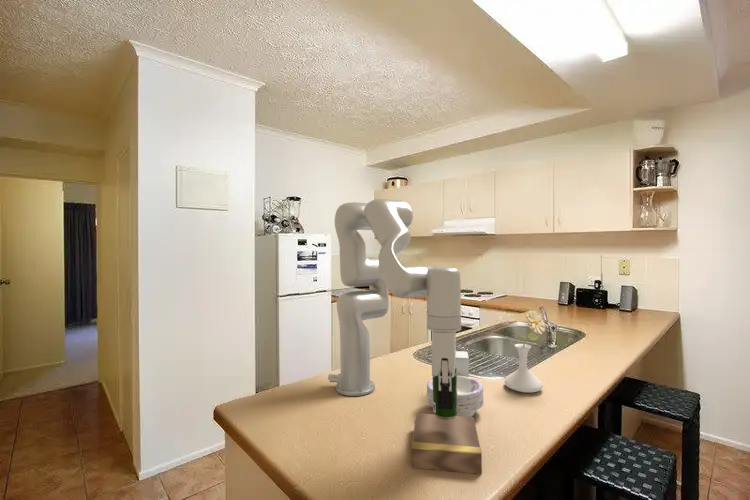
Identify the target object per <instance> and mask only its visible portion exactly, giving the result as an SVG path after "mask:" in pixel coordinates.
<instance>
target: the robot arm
mask: <svg viewBox="0 0 750 500" xmlns="http://www.w3.org/2000/svg"><path fill="white" fill-rule="evenodd" d="M334 214H335V215H334V228H335V233H336V236H337V237H336V238H337V240H338V243H339V244H338V246H339V269H340V270H339V272H340V280H341V282H342V284H343V285H344V286H346V287H348V288H349V287H350V288H353V287H355V288H357V287H369V289H365V290H363V289H362V290H361V289H360V290H353V291H352V290H351V291H345V292H344V293H342V294H340V295H339V296H338V298H337V300H336V311H337V312H336V313H337V317H338V324H339V343H340V344H339V349H340V353H339V354H340V358H339V361H340V372H339V373H338V374H335V373H329V374H328V378H327V380H328V381H329V382H330V383H336V386H335V390H336V392H337V393H338V394H340V395H342V396H348V397H359V396H360V397H361V396H365V395H368V394H370V393H372V392H374V390H375V389H376V385H375V383H374V381H372V380H371V360H370V359H371V352H370V351H371V350H370V349H371V348H370V345H371V344H370V343H371V342H370V333H369V332H370V331H369V330H368V328H367V327H366V325H365V324H364V321H365V320H372V319H373V320H374V319H379V318H383V317H384V316H386V315H387V313H388V311H389V307H390V296H389V294H390V293H391V294H392V295H393V296H394V297H396V298H399V299H412V298H419V297H421V298H423V297H426V329H427V330H429V331H431V376H432V378H433V377H435V376H438V374H439V376H438V378H439V390H438V408H439V409H450V410H452V409H453V390H452V386H451V378H453V377H454V375H455V359H456V351H457V350H456V349H457V347H456V345H457V342H456V341H457V338H456V337H457V333H456V332H460V331H461V330H462V301H461V299H462V296H461V294H462V293H461V291H462V290H461V286H462V285H461V272H460V271H459V269H458V268H455V267H443V266H442V267H441V266H440V267H439V266H436V265H432V264H429V265H405V266H402V264H401V263H400V262H399V261H400V260H398V258H397V257H396V255H397V254H398V253H400V252H402V251H403V250H404V249H406V247H407V246H408V245H409V244H410V242H411V239H412V235H411V232H410V230H409V229H408V228H409V226H410V225H411V224H412V222H413V220H414V219H413V218H414V213H413V210H412V207H411V206H410V204H408V203H407V202H406V201H405V200H404V201H403V200H400V199H389V198H386V199H385V198H377V199H372V200H370V201H369V202H367V203H366V202H346V203H343V204H341V205H339V206H338V207H337V209H336V211H335V213H334ZM361 230H362V231H372V233H373V234H374V237H375V238H376V240H377V242H378V243H379V245H380V246H381V247H380V250H379V253H378V257H376V256H369V257H368V256H367V252H366V247H367V246H366V242H365V240H364V238H363V237H362V235H361V234H360V232H359V231H361ZM441 359H442V365H441ZM451 372H452V373H451ZM440 373H442V376H440ZM448 373H449V376H448ZM451 376H452V377H451ZM441 379H442V381H441ZM448 379H449V382H448Z"/></svg>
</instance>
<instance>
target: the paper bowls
mask: <svg viewBox="0 0 750 500" xmlns="http://www.w3.org/2000/svg"><path fill="white" fill-rule="evenodd" d="M426 392H427V393H426V396H427V404H429V405H430V406H431V407H432V408H433V378H431V379H429V380H428V381H427V384H426ZM484 400H485V399H484V386H483V384H482V383H481V382H480V381H479V380H477V379H475V378H474V377H473V378H472V377H470V376H469V377H465V376H457V415H456V416H465V417H474V415H475V413H476V411H478V410H479V409H482V407H483V406H484V403H485V402H484Z"/></svg>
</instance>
